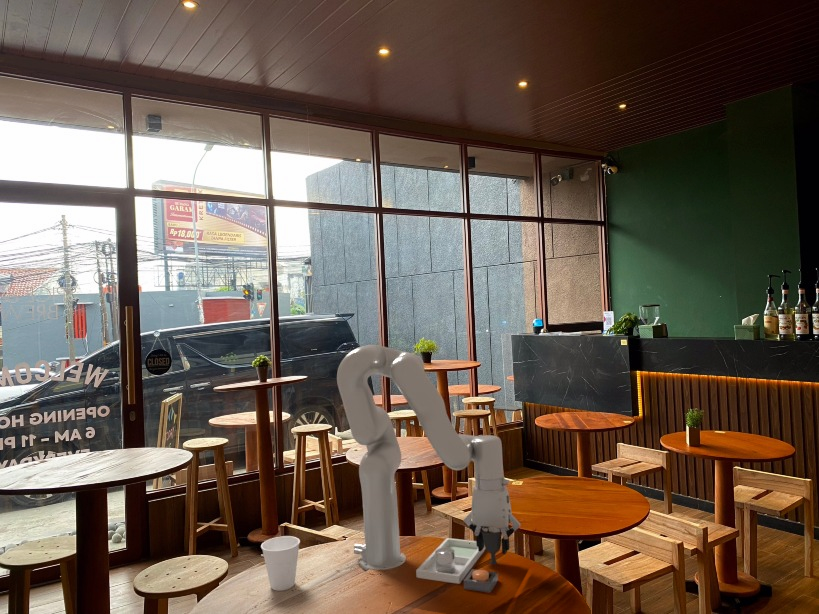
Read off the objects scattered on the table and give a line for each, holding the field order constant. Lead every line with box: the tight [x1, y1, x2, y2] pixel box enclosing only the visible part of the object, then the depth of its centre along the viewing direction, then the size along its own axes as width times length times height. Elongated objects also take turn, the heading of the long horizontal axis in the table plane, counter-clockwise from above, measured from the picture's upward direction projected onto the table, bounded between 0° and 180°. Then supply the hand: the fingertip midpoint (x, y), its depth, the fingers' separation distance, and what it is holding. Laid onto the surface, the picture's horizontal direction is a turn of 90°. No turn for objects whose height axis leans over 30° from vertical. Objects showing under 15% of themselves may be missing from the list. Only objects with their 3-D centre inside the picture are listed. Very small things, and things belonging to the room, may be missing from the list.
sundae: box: [480, 526, 503, 565], centre depth 157 cm, size 7×7×15 cm
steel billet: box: [434, 548, 455, 574], centre depth 154 cm, size 5×5×5 cm
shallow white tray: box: [415, 537, 486, 585], centre depth 159 cm, size 12×22×3 cm, turn 156°
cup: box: [260, 535, 301, 592], centre depth 153 cm, size 10×10×11 cm
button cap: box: [472, 569, 489, 582], centre depth 145 cm, size 4×4×2 cm
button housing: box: [463, 568, 499, 594], centre depth 145 cm, size 7×7×3 cm
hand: (493, 550), depth 157 cm, fingers open, 5 cm apart
